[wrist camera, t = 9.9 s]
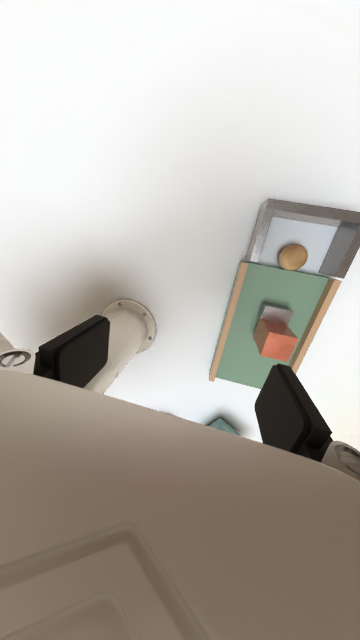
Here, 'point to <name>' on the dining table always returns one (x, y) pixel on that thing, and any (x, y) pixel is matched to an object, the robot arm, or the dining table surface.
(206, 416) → the dining table surface
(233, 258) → the dining table surface
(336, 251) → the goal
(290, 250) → the ball
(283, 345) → the silver-capped pink block
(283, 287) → the pitch
